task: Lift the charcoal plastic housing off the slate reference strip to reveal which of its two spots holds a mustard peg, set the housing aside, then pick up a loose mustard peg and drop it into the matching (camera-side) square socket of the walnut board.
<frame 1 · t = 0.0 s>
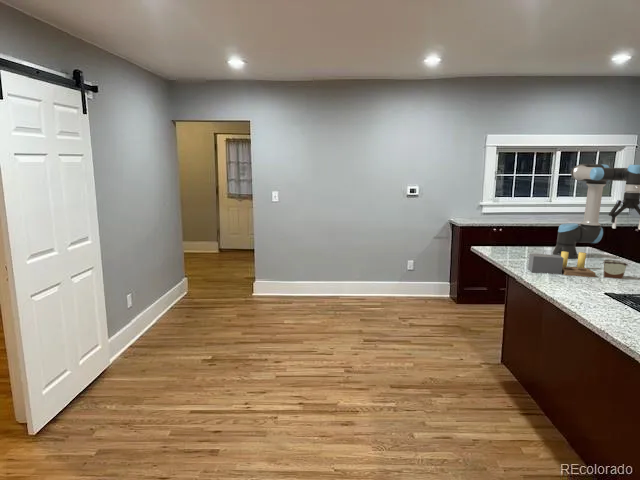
hand: (626, 229, 245), 28 cm above the countertop, fingers open, 13 cm apart
socket board: (575, 273, 253), on the countertop
housing: (544, 271, 257), on the countertop
food container: (611, 277, 247), on the countertop
peg b: (580, 268, 266), on the countertop
peg a: (563, 267, 268), on the countertop
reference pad: (544, 271, 257), on the countertop
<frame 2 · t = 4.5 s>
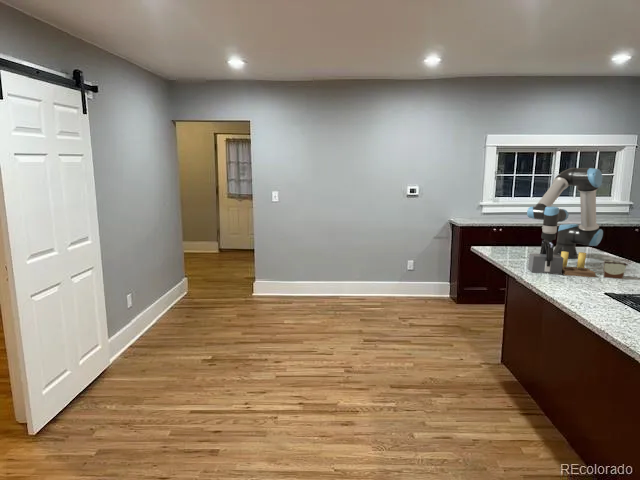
hand: (544, 269, 256), 1 cm above the countertop, fingers closed on housing, 8 cm apart
housing: (544, 271, 257), on the countertop, touching gripper
everything else where it was.
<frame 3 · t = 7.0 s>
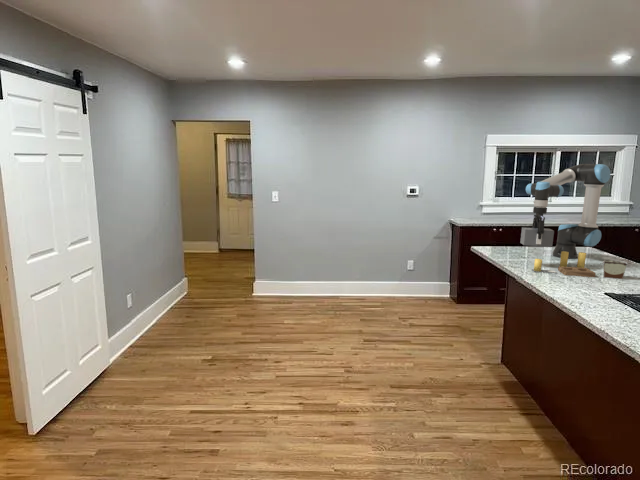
hand: (536, 242, 267), 15 cm above the countertop, fingers closed on housing, 8 cm apart
housing: (535, 244, 267), point 14 cm above the countertop, touching gripper
everything else where it was.
when the fingers open (2 cm above the countertop, at t = 9.6 s): housing drops 1 cm, on the countertop.
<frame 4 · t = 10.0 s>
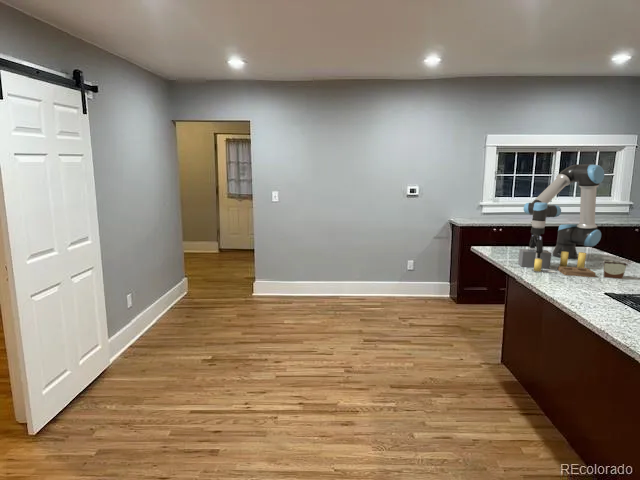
hand: (534, 260, 269), 4 cm above the countertop, fingers open, 13 cm apart
housing: (533, 266, 270), on the countertop
everything else where it was.
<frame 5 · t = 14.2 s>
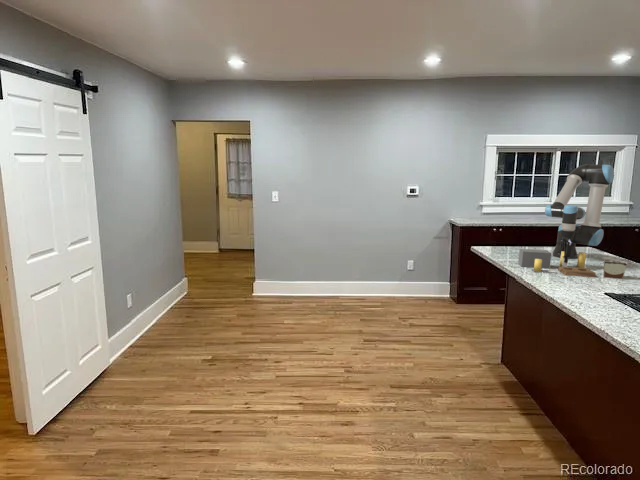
hand: (563, 266, 268), 1 cm above the countertop, fingers closed on peg a, 4 cm apart
peg a: (563, 267, 268), on the countertop, touching gripper
everything else where it was.
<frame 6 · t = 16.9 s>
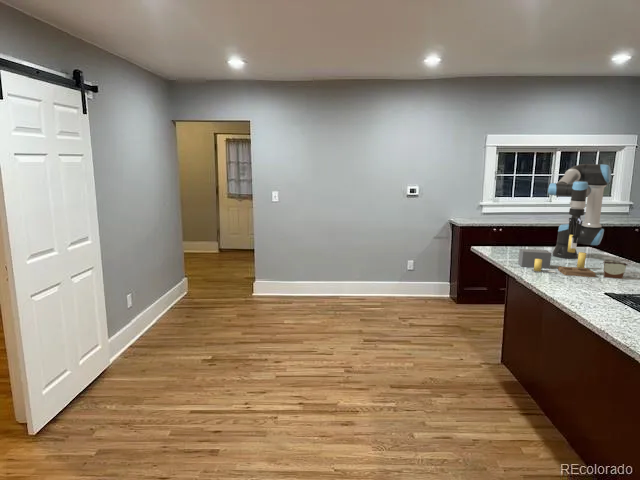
hand: (571, 247, 251), 16 cm above the countertop, fingers closed on peg a, 3 cm apart
peg a: (571, 251, 252), point 13 cm above the countertop, touching gripper
everything else where it was.
when the fingers open (3 cm above the countertop, at t = 19.8 s): peg a drops 1 cm, resting in socket board.
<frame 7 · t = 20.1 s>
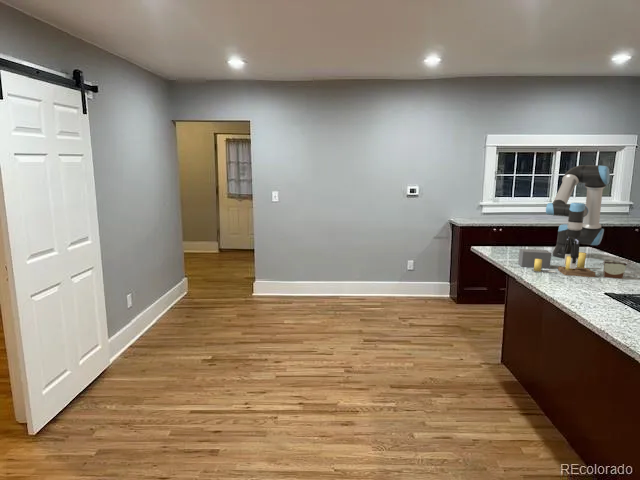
hand: (569, 266, 253), 4 cm above the countertop, fingers open, 8 cm apart
peg a: (568, 273, 254), resting in socket board
everything else where it was.
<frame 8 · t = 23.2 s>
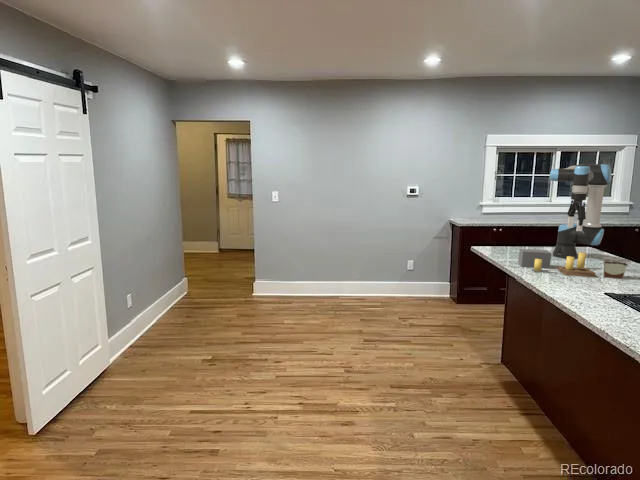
hand: (574, 229, 249), 27 cm above the countertop, fingers open, 13 cm apart
nothing on the countertop moved.
at the end: peg a 0.0 cm from the target spot on the socket board, point 0.0 cm above the socket board's base; peg a tilted 0°; housing inside the target area (0.0 cm from its centre), on the countertop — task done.
